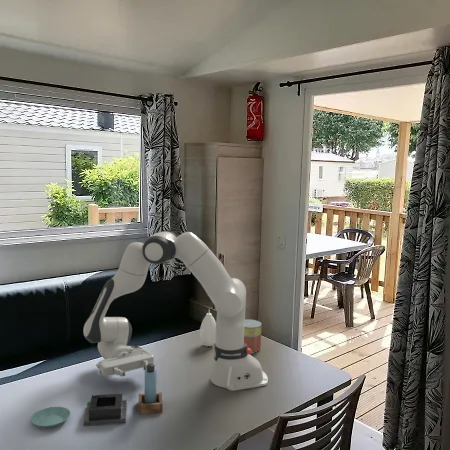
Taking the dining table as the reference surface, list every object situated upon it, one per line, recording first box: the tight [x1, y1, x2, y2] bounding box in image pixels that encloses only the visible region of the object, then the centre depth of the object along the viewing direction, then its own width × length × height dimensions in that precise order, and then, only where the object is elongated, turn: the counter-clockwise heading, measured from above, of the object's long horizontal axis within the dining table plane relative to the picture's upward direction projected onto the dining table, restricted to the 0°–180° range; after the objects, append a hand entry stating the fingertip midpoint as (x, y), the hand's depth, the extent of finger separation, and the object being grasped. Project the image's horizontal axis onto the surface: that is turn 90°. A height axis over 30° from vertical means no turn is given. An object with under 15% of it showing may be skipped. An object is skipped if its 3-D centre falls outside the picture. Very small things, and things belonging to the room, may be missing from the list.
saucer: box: [30, 406, 71, 429], centre depth 147 cm, size 12×12×2 cm
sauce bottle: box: [199, 308, 216, 347], centre depth 212 cm, size 8×8×18 cm
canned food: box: [244, 318, 263, 353], centre depth 211 cm, size 11×11×12 cm
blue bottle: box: [143, 363, 158, 404], centre depth 157 cm, size 4×4×15 cm
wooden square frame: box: [137, 392, 164, 415], centre depth 157 cm, size 8×8×3 cm
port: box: [83, 393, 128, 427], centre depth 152 cm, size 13×12×4 cm
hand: (135, 371), depth 166 cm, fingers open, 8 cm apart
